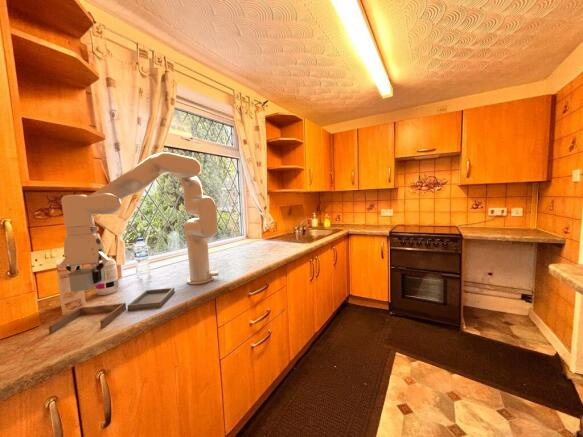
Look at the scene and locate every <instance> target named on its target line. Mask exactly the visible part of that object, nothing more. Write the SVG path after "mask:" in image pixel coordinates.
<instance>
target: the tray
mask: <svg viewBox="0 0 583 437" xmlns="http://www.w3.org/2000/svg"><path fill="white" fill-rule="evenodd" d="M174 293H175V287H166V288H155V289H147V290H145V291H143V292H142V293H141V294H140V295H138V296H137V297H136V298H135V299H134V300H132V301H131V302H130V303H129V304H128V305H127V304H126V307H127V312H129V311H137V310H138V311H139V310H145V309H146V310H147V309H156V308H157V309H159V308H162V306H163V305H164V304H165V303H166V302H167V301H168V300H169V299H170V297H172V295H173V294H174Z"/></svg>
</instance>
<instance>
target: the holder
mask: <svg viewBox="0 0 583 437" xmlns="http://www.w3.org/2000/svg"><path fill="white" fill-rule="evenodd" d="M126 310H127V304H126V302H121V303H111V304H99V305H91V306H90V305H89V306H86V307H80V308H78V309H77V310H75V311H73V312H72V313H70V314H68V315H65V316H62V318H60V319H58V320H56V321H55V322H54V323H52V324H50V325H48V332H49V334H50V335H52V334H54V333H55V332H57V331H59V330H60V329H61V328H64V327H65V326H67V325H68V324H69V323H71V322H73V321H74V320H76V319H77V318H79V317H81V316H82V315H90V314H91V315H92V314H100V313H108V314H107V315H106V316H104V317H103V318H102V319H100V320H99V322H100V329H104V328H105V327H106V326H108V325H109V324H110V323H111V322H113V321H114V320H116V318H118V317H119V316H120V315H122V314H123V312H124V311H126Z"/></svg>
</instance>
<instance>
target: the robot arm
mask: <svg viewBox="0 0 583 437" xmlns="http://www.w3.org/2000/svg"><path fill="white" fill-rule="evenodd" d="M201 172H202V166H201V163H200V161H198V160H197V159H196V158H194V157H191V156H186V155H181V154H177V153H172V152H166V151H165V152H159V153H155V154H152V155H150V156H148V157H147V158H146V159H144V160H143V161H141V162H140V163H138V164H137V165H135V166H134V167H132V168H131V169H130V170H127V172H125V173H123V174H121V175H119V176H118V177H117V178H116V179H113V180H112V181H110V182H108V183H107V184H105V185H104V186H102V187H100V188H99V189H97V190H96V191H94V192H93V193H92V194H89V195H87V194H66V195H64V196H62V197H61V199H60V201H61V207H62V214H63V219H64V221H63V222H64V227H65V234H66V235H65V236H64V241H63V242H64V243H63V253H64V254H63V258H64V260H63V261H62V263H61V264H60V265H61V266H62V267H64V268H66V269H67V270H68V271H70V273H72V272H74V271H77V270H79V269H81V266H85V265H90V266H92V268H93V271H94V272H92V275H93V282H94V284H95V283H98V282H100V281H101V279H102V275H101V270H102V268H103V267H104V266H105V265H106V264H107V263H108V262H109V261H110V259H111V258H109V257H108V256H107V255H106V253H105V247H104V244H103V240H102V238H101V236H100V233H97V232H98V231H99V230H100V227H99V226H96V224H95V218H94V217H95V216H94V215H112V214H115V213H117V212H118V211H119V210H120V209H121V208H122V199H125V198H126V197H128V196H132V195H134V194H136V193H139V192H141V191H144V190H145V189H146V188H148V187H149V186H150V185H151V184H153V183H154V182H155V181H157V179H159V178H160V177H162V176H163V175H166V174H171V176H173V178H175V179H177V180H178V182H179V183H180V184H181V186H182V188H183V194H184V207H185V212H186V213H187V215H189V216H197V218H196V217H195V218H191V219H188V220H187V221H186V222H185V223H184V226H183V232H184V237H185V239H186V244H187V259H188V268H189V269H188V270H189V277H188V278H187V279H186V283H187V284H189V285H202V284H206V283H209V282H211V281H213V280H214V277H219V273H220V272H219V271H212V269H211V268H210V259H209V246H208V245H209V244H208V241H207V239H211V238H213V237H215V235H216V234H217V232H218V214H217V204H216V203H215V201H214V199H213V198H212V197H210V196H209V195H204V193H203V188H202V187H203V186H202V183H201V180H200V179H199V178H198V176H199V175H200V173H201ZM100 261H102V262H101V263H100Z"/></svg>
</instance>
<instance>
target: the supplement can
mask: <svg viewBox="0 0 583 437" xmlns="http://www.w3.org/2000/svg"><path fill="white" fill-rule="evenodd" d="M109 259H110V261H109V262H108V263H107V264H106V265H105V266H104V267H103V270H104V277H105V281H103V282H102V283H100V284H98V285H96V286H95V292H96V294H97V295H99V296H106V295H110V294H114V293H116V292H118V290H119V289H120V286H119V276H118V266H117V261H116V260H115V259H114V258H109ZM101 262H102V261H100V263H101Z"/></svg>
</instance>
